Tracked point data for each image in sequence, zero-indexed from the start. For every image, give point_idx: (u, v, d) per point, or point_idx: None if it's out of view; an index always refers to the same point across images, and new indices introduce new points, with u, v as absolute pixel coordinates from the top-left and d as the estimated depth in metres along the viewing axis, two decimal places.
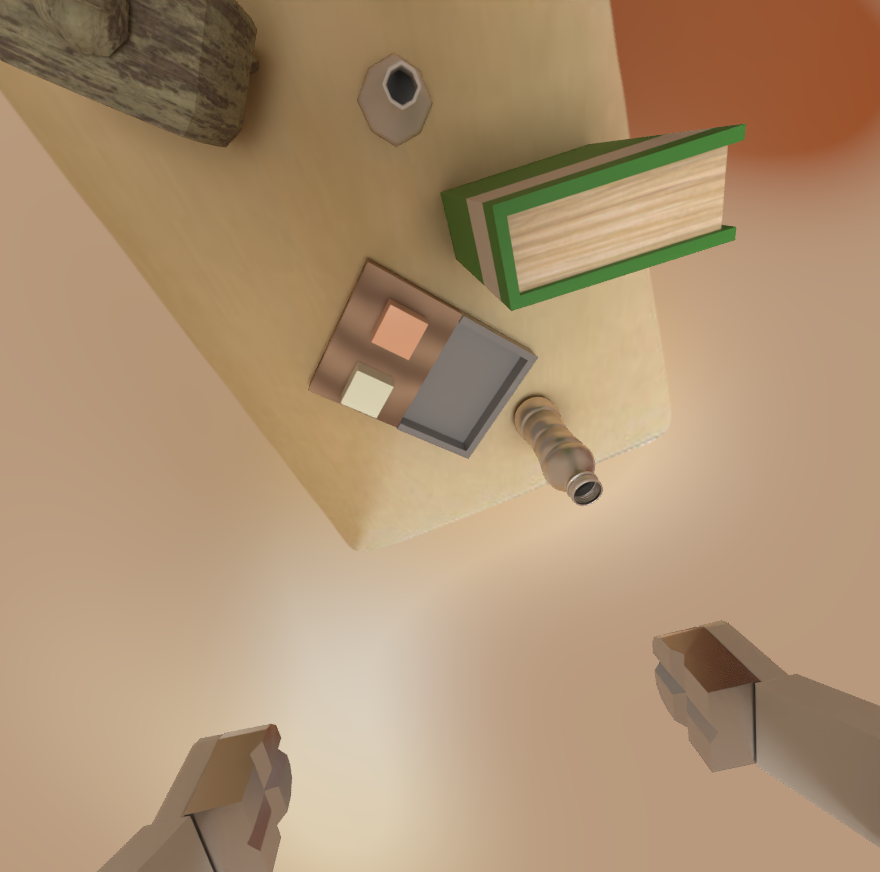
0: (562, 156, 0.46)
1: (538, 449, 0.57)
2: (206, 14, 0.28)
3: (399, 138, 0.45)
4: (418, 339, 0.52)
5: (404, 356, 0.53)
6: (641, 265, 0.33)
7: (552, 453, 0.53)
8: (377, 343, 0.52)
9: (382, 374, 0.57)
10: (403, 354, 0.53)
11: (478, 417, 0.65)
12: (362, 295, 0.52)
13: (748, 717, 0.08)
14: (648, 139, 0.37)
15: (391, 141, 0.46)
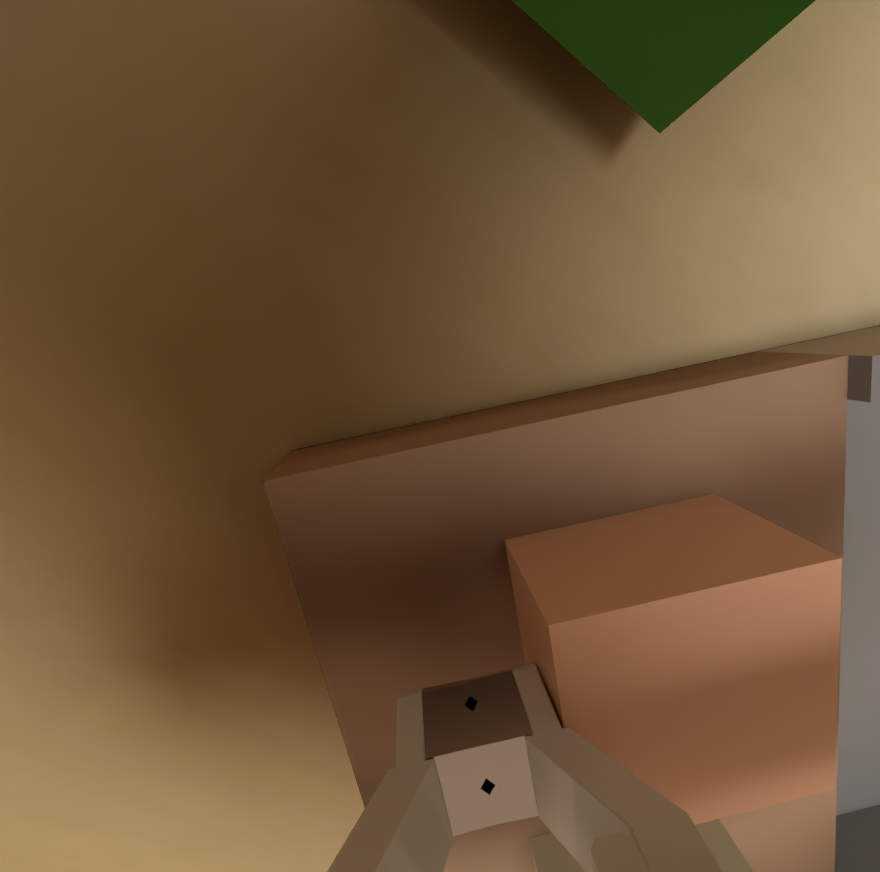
0: None
1: None
2: None
3: None
4: (829, 667, 0.08)
5: (800, 789, 0.08)
6: None
7: None
8: None
9: None
10: (789, 785, 0.08)
11: None
12: (354, 623, 0.10)
13: (523, 770, 0.07)
14: None
15: None
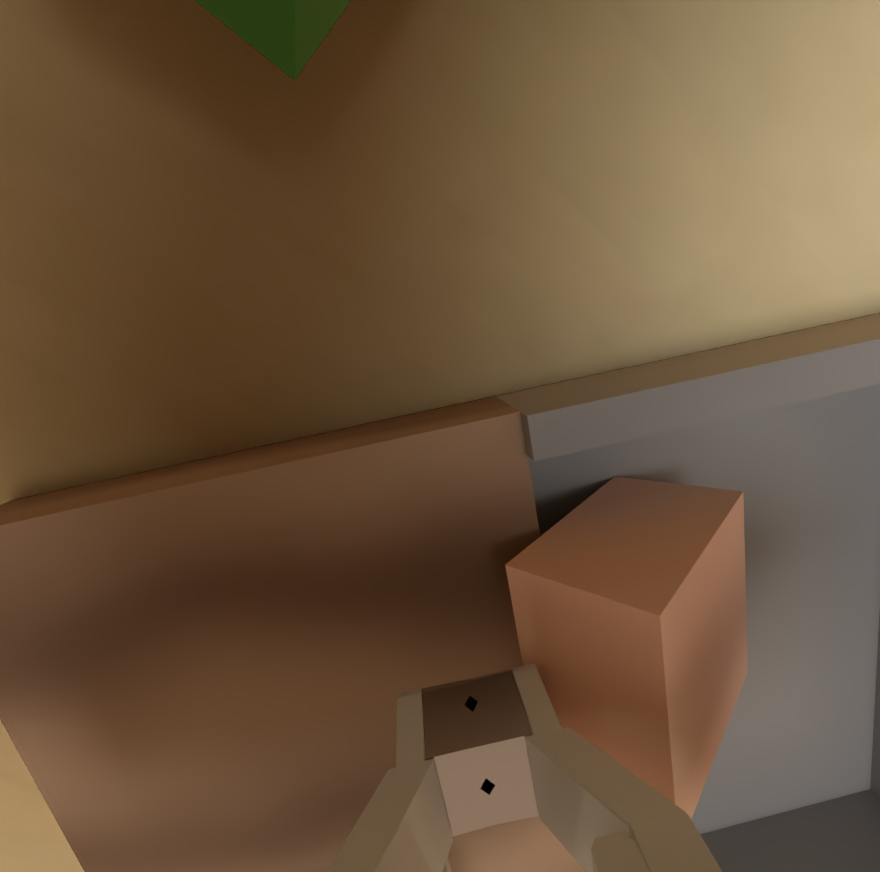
0: None
1: None
2: None
3: None
4: (743, 577, 0.10)
5: (740, 683, 0.11)
6: None
7: None
8: (691, 811, 0.08)
9: None
10: (737, 683, 0.10)
11: (868, 681, 0.15)
12: (33, 684, 0.10)
13: (523, 770, 0.07)
14: None
15: None
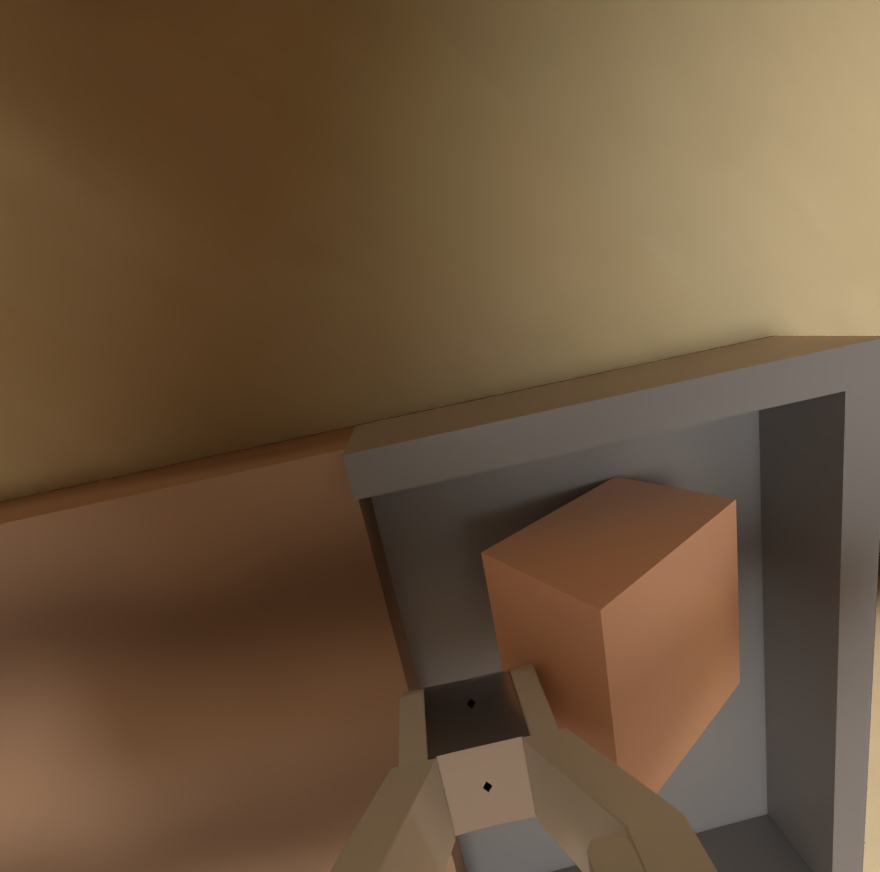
0: None
1: None
2: None
3: None
4: (734, 586, 0.10)
5: (727, 692, 0.10)
6: None
7: None
8: None
9: None
10: (722, 691, 0.10)
11: (757, 707, 0.15)
12: None
13: (520, 771, 0.07)
14: None
15: None
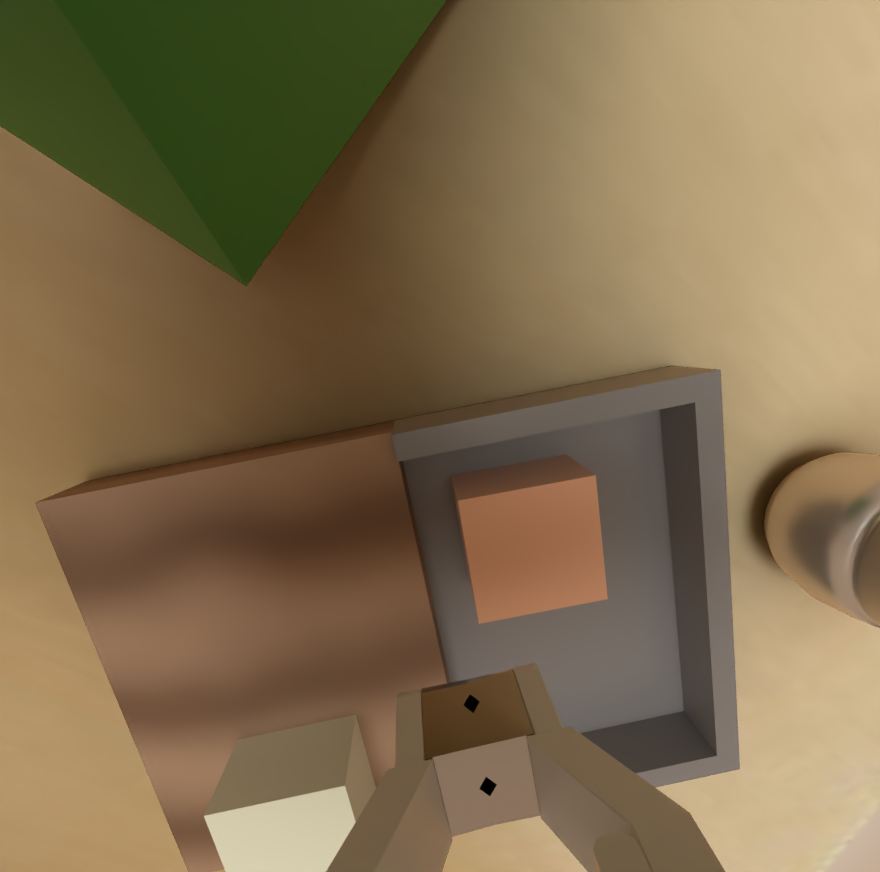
0: None
1: None
2: None
3: None
4: (596, 531, 0.16)
5: (589, 597, 0.17)
6: None
7: None
8: (496, 616, 0.16)
9: (318, 733, 0.18)
10: (583, 594, 0.16)
11: (671, 626, 0.21)
12: (100, 590, 0.16)
13: (524, 770, 0.07)
14: None
15: None
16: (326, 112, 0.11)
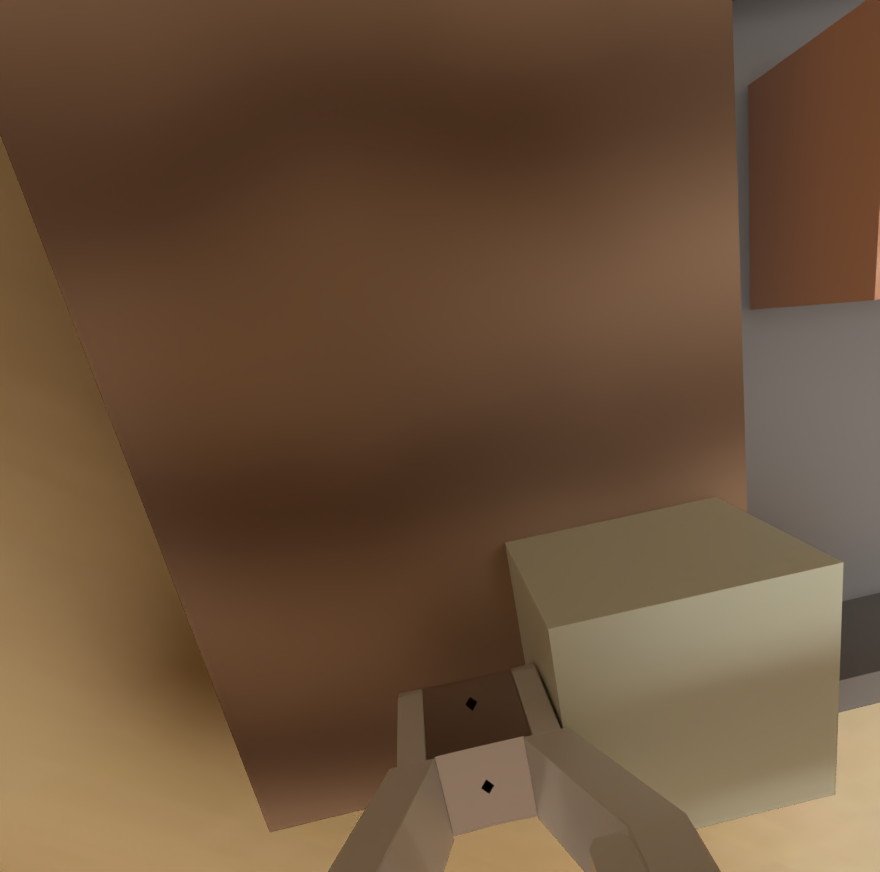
0: None
1: None
2: None
3: None
4: None
5: None
6: None
7: None
8: None
9: (666, 519, 0.09)
10: None
11: None
12: (100, 231, 0.08)
13: (522, 771, 0.07)
14: None
15: None
16: None
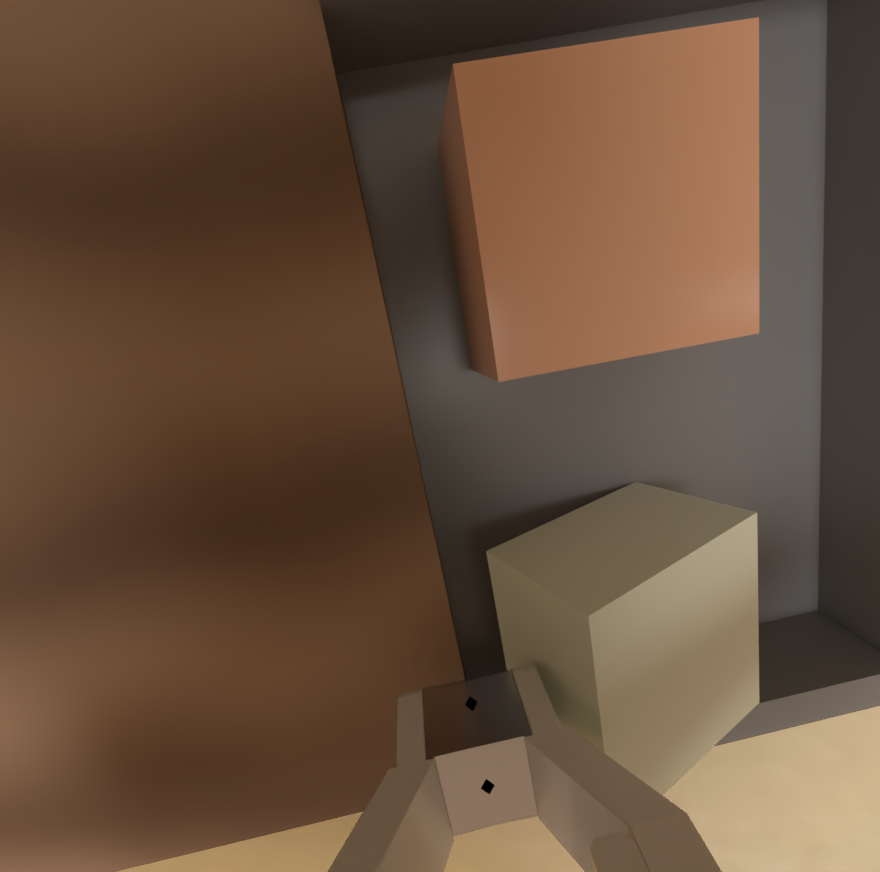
0: None
1: None
2: None
3: None
4: (749, 165, 0.07)
5: (724, 328, 0.08)
6: None
7: None
8: (534, 365, 0.08)
9: (613, 505, 0.11)
10: (712, 321, 0.08)
11: (810, 463, 0.12)
12: None
13: (522, 770, 0.07)
14: None
15: None
16: None
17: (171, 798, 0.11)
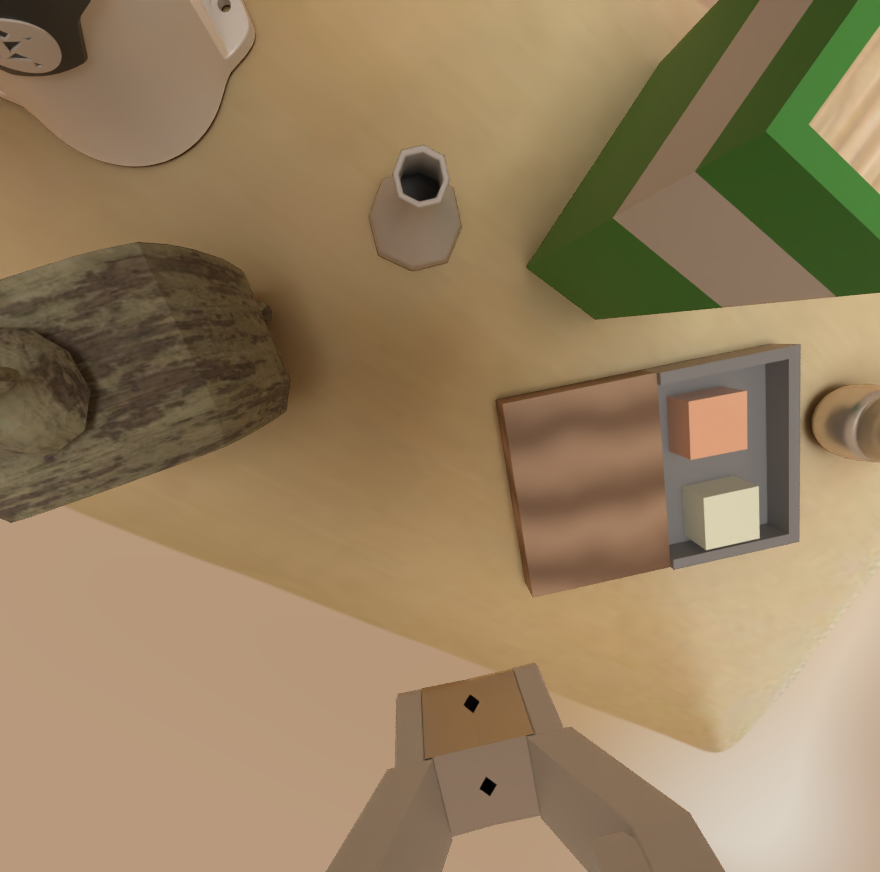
0: (652, 91, 0.29)
1: None
2: (160, 285, 0.18)
3: (445, 250, 0.33)
4: (745, 416, 0.36)
5: (739, 448, 0.37)
6: None
7: None
8: (698, 456, 0.36)
9: (721, 480, 0.40)
10: (737, 446, 0.37)
11: (764, 476, 0.41)
12: (521, 445, 0.36)
13: (524, 770, 0.07)
14: None
15: (438, 262, 0.34)
16: None
17: (588, 567, 0.39)
